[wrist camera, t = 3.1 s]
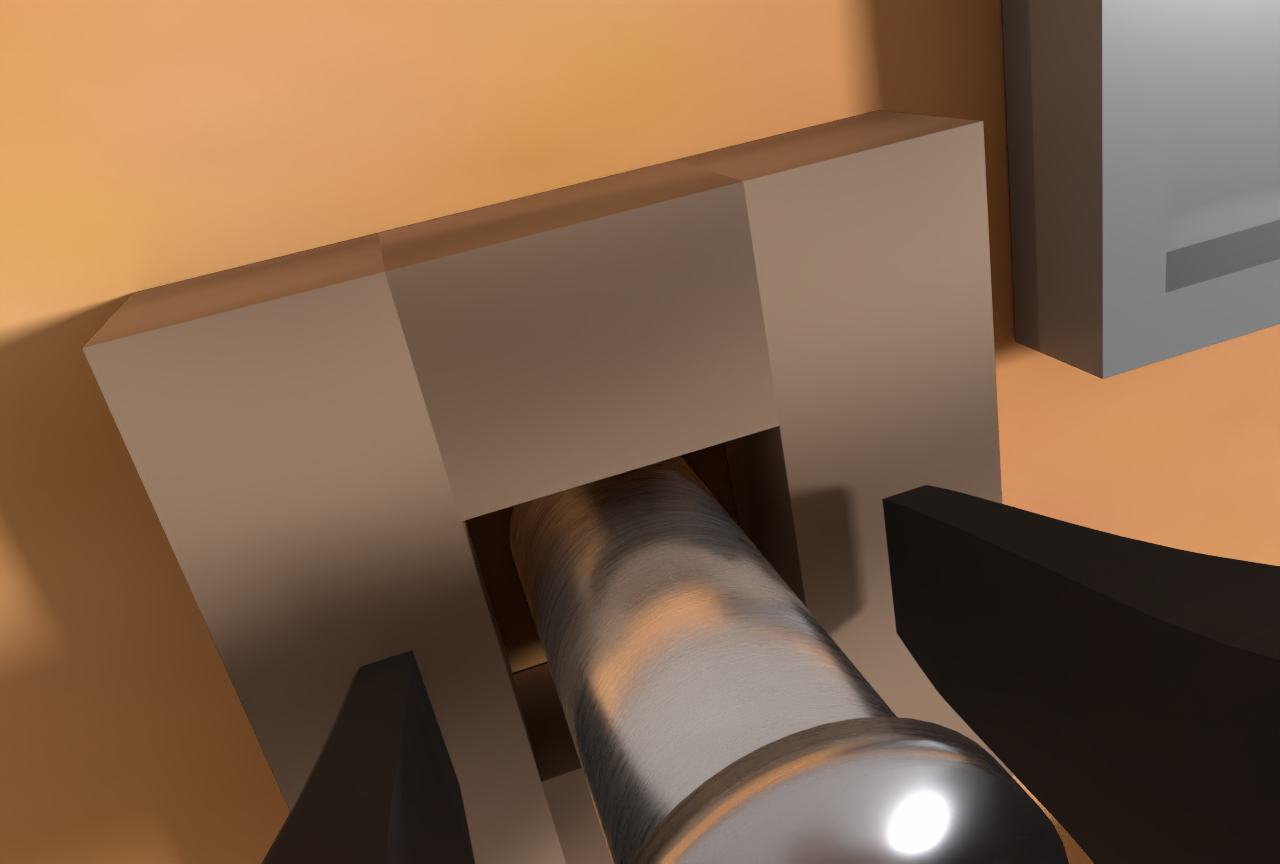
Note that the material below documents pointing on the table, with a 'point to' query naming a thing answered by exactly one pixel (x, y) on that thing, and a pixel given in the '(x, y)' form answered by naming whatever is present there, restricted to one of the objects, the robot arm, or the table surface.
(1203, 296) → the tray
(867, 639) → the pin block
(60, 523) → the table surface
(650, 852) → the pin
